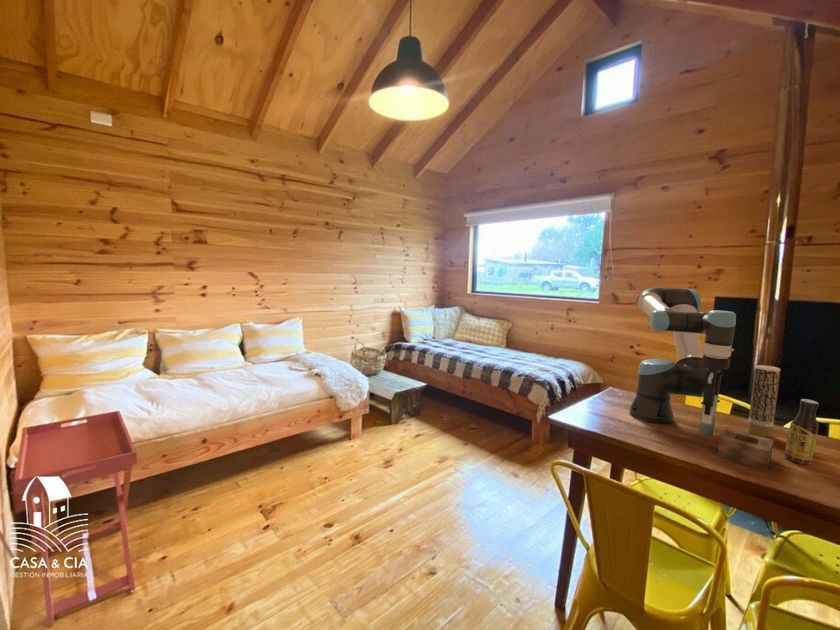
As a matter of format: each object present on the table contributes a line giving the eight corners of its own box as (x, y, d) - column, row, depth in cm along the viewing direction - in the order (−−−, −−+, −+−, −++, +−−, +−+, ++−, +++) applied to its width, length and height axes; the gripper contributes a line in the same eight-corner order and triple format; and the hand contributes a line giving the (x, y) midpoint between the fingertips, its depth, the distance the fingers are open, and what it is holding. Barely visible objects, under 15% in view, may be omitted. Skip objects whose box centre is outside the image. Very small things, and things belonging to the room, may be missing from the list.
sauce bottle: (778, 455, 125) (787, 396, 122) (796, 455, 125) (805, 396, 123) (800, 466, 118) (810, 404, 116) (818, 465, 119) (828, 404, 116)
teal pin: (697, 433, 136) (702, 395, 134) (700, 430, 138) (705, 392, 136) (711, 437, 133) (716, 398, 131) (714, 433, 135) (719, 395, 133)
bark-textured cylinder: (776, 438, 137) (785, 370, 135) (754, 436, 139) (763, 369, 136) (763, 431, 144) (771, 365, 141) (743, 429, 145) (750, 364, 142)
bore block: (717, 455, 124) (719, 437, 123) (724, 444, 132) (726, 427, 131) (766, 470, 115) (769, 451, 115) (771, 457, 124) (773, 439, 123)
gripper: (725, 362, 123) (715, 431, 126) (734, 354, 134) (726, 418, 138) (697, 357, 128) (688, 424, 132) (708, 350, 140) (700, 411, 143)
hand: (707, 421), depth 135 cm, fingers closed on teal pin, 4 cm apart
